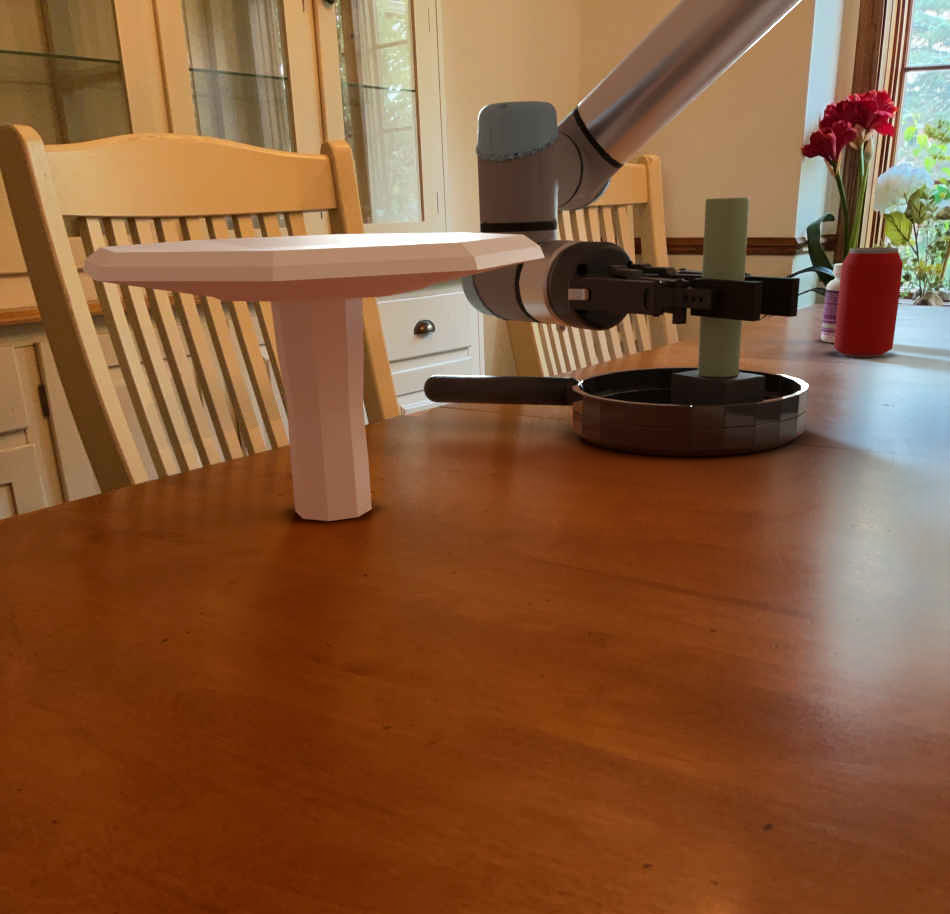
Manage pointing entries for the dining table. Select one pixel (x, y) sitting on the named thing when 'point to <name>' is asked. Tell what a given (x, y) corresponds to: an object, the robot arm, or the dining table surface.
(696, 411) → the frying pan
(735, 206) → the green peg on base
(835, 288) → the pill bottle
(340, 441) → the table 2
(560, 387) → the pan handle
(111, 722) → the dining table surface
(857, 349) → the beverage can
